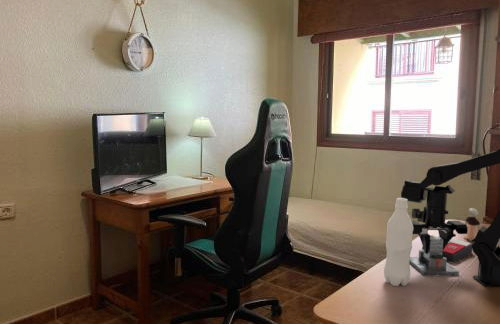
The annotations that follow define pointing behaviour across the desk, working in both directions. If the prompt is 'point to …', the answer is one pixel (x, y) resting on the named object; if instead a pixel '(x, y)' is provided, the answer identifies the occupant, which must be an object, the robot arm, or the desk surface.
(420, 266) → the stand base
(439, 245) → the column
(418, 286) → the desk surface
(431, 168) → the robot arm
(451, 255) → the button control pad
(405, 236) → the water bottle
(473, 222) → the grandmother figurine
